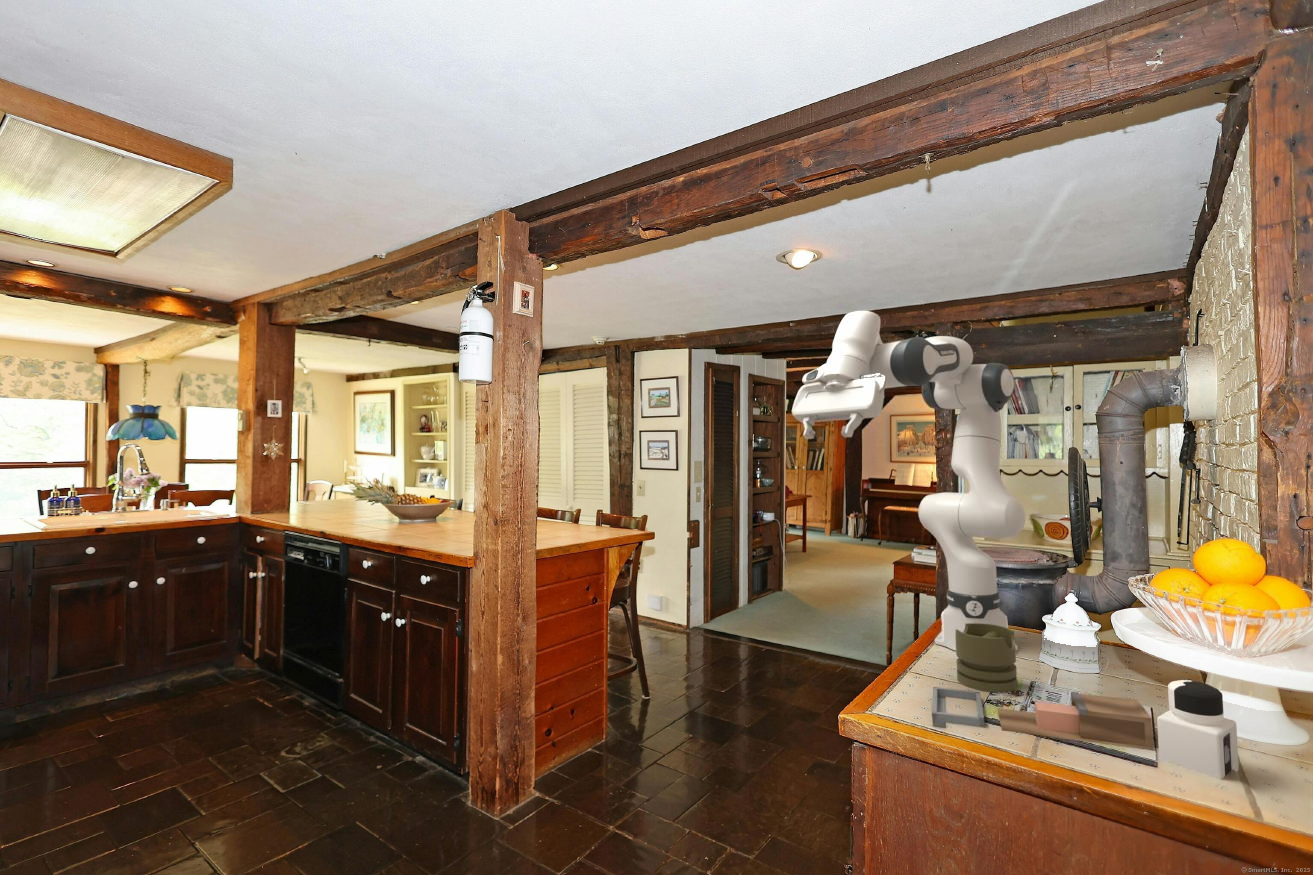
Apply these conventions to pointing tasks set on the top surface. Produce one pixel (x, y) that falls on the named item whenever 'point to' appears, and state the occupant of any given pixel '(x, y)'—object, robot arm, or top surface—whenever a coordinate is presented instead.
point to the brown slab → (1093, 722)
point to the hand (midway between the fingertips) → (826, 436)
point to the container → (1197, 730)
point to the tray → (942, 717)
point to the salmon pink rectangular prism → (1057, 717)
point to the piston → (986, 657)
